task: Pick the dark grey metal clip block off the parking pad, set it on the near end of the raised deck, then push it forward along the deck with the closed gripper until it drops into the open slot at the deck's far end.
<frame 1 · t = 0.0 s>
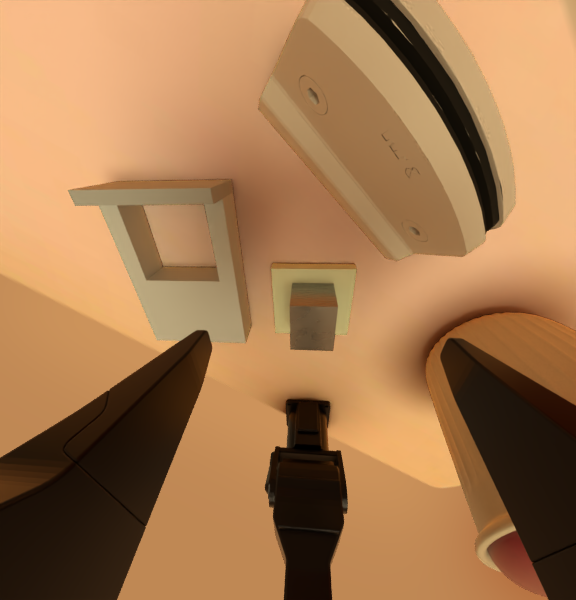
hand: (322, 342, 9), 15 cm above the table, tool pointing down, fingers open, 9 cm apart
clip block: (312, 304, 24), point 1 cm above the table, touching parking pad
parking pad: (311, 298, 25), on the table
canister: (479, 349, 28), on the table
deck: (195, 267, 24), on the table
beige half-round holder: (368, 154, 18), on the table
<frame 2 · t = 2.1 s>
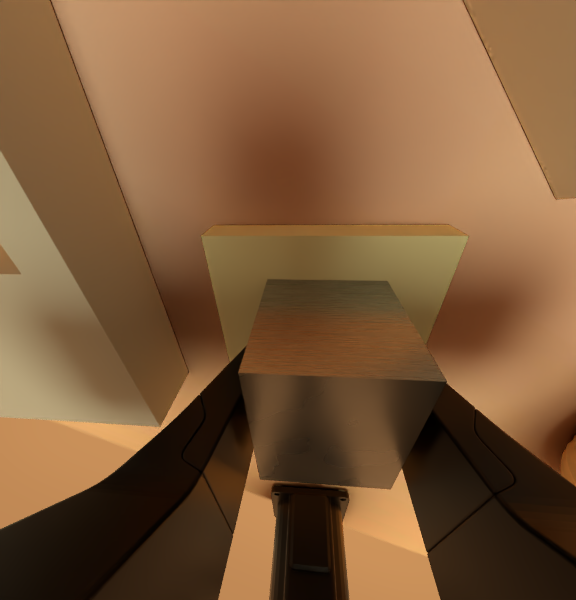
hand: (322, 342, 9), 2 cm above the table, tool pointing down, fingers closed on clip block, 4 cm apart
clip block: (322, 336, 9), point 1 cm above the table, touching gripper, parking pad
parking pad: (320, 317, 10), on the table
deck: (17, 238, 9), on the table
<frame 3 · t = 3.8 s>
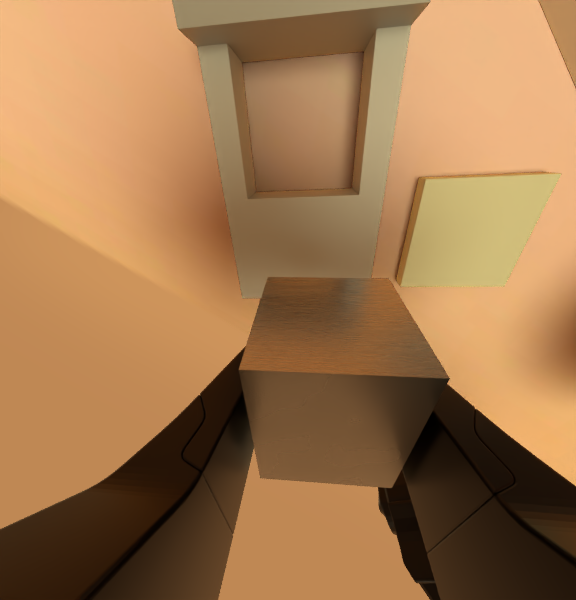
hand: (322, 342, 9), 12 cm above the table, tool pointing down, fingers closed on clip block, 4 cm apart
clip block: (322, 334, 9), point 12 cm above the table, touching gripper
parking pad: (460, 233, 18), on the table
deck: (303, 190, 17), on the table
when the fingers open (5 cm above the table, at t = 5.5 s): clip block drops 2 cm, resting on deck.
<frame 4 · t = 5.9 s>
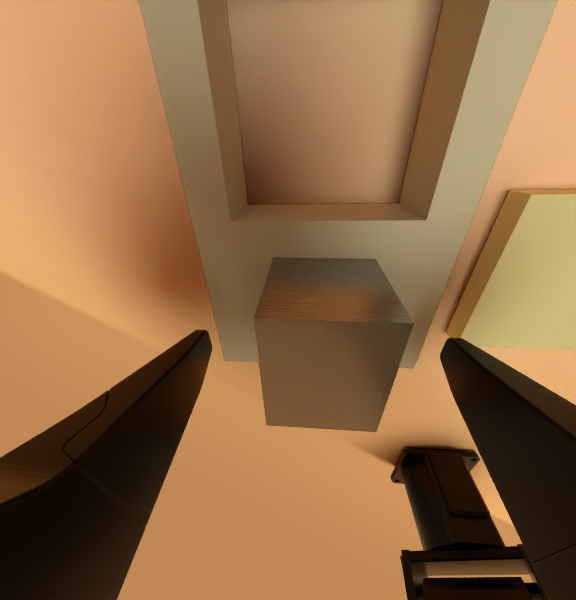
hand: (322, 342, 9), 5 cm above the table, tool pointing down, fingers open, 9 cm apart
clip block: (319, 309, 11), point 3 cm above the table, touching deck
parking pad: (554, 274, 12), on the table
deck: (321, 203, 11), on the table
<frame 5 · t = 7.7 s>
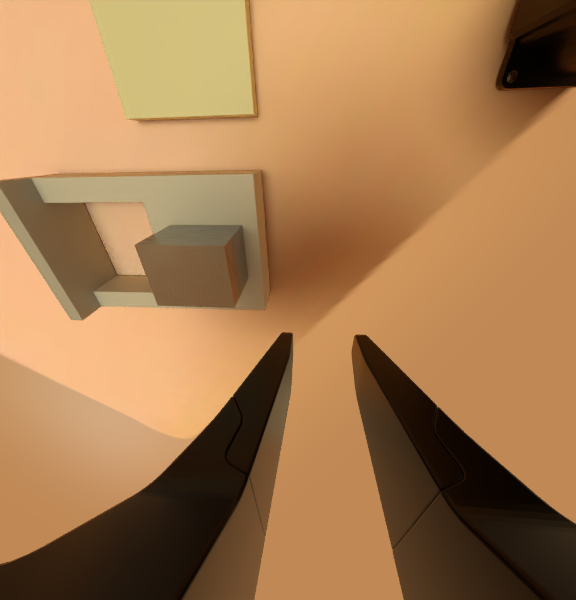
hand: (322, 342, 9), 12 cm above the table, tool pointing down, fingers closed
clip block: (211, 252, 17), point 3 cm above the table, touching deck
parking pad: (179, 28, 13), on the table
deck: (178, 239, 20), on the table
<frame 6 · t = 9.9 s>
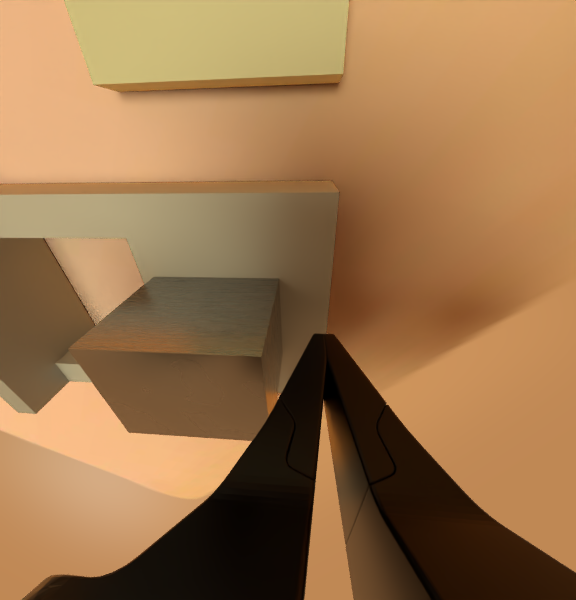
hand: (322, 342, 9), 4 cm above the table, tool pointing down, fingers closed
clip block: (223, 318, 10), point 3 cm above the table, touching gripper
deck: (186, 283, 13), on the table
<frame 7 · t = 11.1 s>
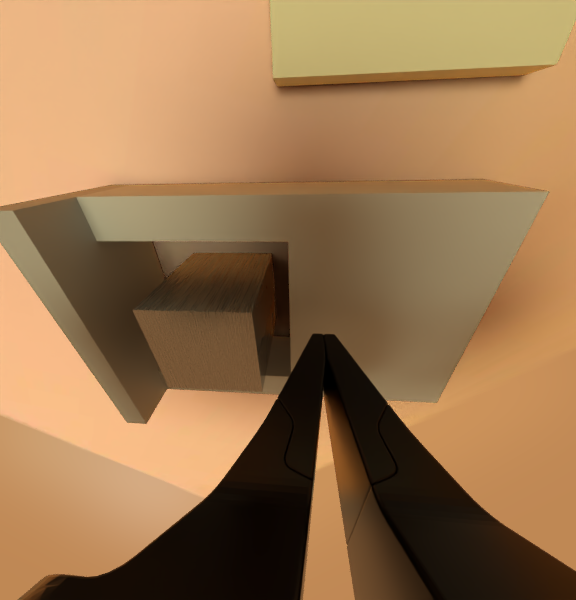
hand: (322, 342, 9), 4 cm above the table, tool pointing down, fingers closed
clip block: (267, 315, 11), point 2 cm above the table, tilted 90°
deck: (293, 286, 13), on the table
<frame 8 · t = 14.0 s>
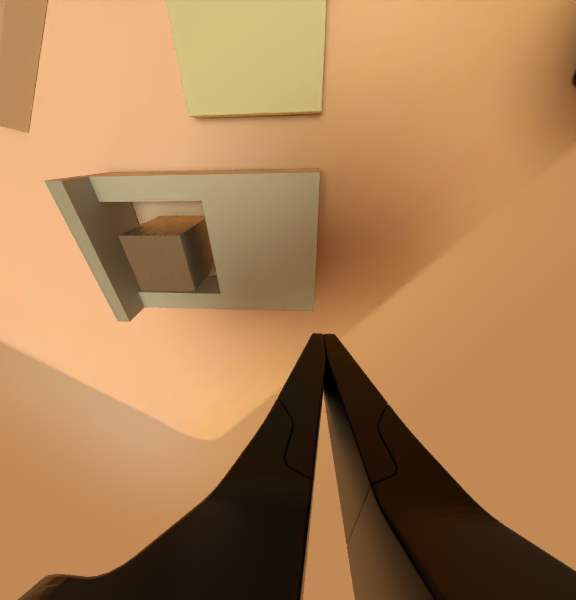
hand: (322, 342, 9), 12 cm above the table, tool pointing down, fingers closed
clip block: (201, 251, 18), point 2 cm above the table, tilted 90°
parking pad: (250, 22, 13), on the table
deck: (224, 239, 20), on the table
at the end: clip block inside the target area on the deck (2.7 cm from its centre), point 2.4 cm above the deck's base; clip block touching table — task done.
